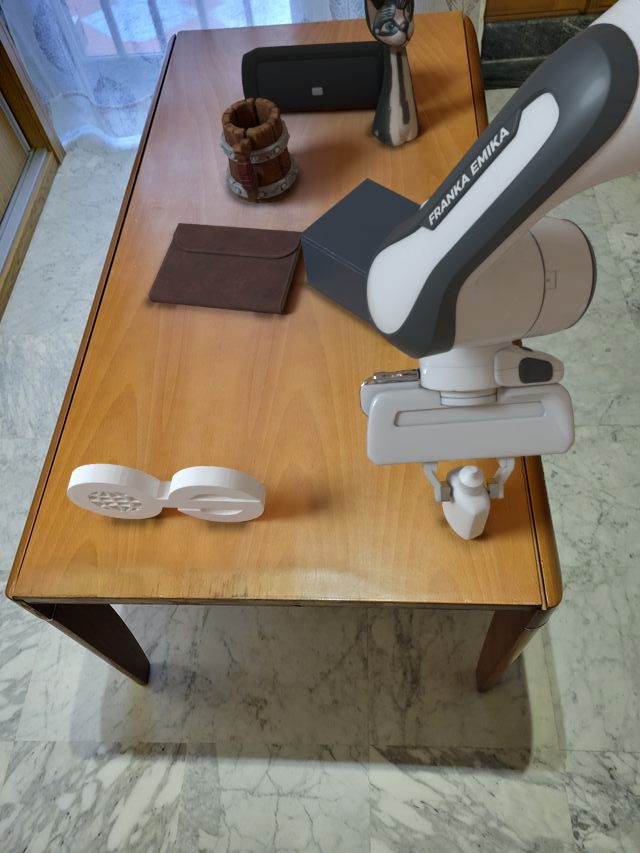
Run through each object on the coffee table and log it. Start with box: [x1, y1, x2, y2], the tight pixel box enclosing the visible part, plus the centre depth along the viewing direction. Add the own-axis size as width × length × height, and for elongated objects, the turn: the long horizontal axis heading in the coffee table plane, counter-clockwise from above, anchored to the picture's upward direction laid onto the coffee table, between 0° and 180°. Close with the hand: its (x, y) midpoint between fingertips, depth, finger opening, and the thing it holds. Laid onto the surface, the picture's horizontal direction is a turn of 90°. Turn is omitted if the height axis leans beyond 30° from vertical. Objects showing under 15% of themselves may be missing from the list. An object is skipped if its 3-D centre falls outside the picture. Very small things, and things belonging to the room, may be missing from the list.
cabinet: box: [300, 177, 422, 326], centre depth 86 cm, size 16×14×10 cm
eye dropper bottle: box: [441, 465, 491, 541], centre depth 66 cm, size 4×6×12 cm
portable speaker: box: [240, 40, 385, 112], centre depth 108 cm, size 26×10×10 cm, turn 86°
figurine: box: [363, 0, 420, 147], centre depth 96 cm, size 9×7×25 cm
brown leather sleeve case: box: [148, 222, 303, 315], centre depth 93 cm, size 15×20×2 cm
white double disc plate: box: [66, 463, 267, 523], centre depth 71 cm, size 22×2×10 cm, turn 86°
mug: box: [219, 98, 299, 204], centre depth 97 cm, size 12×14×15 cm
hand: (468, 498), depth 65 cm, fingers closed on eye dropper bottle, 4 cm apart
